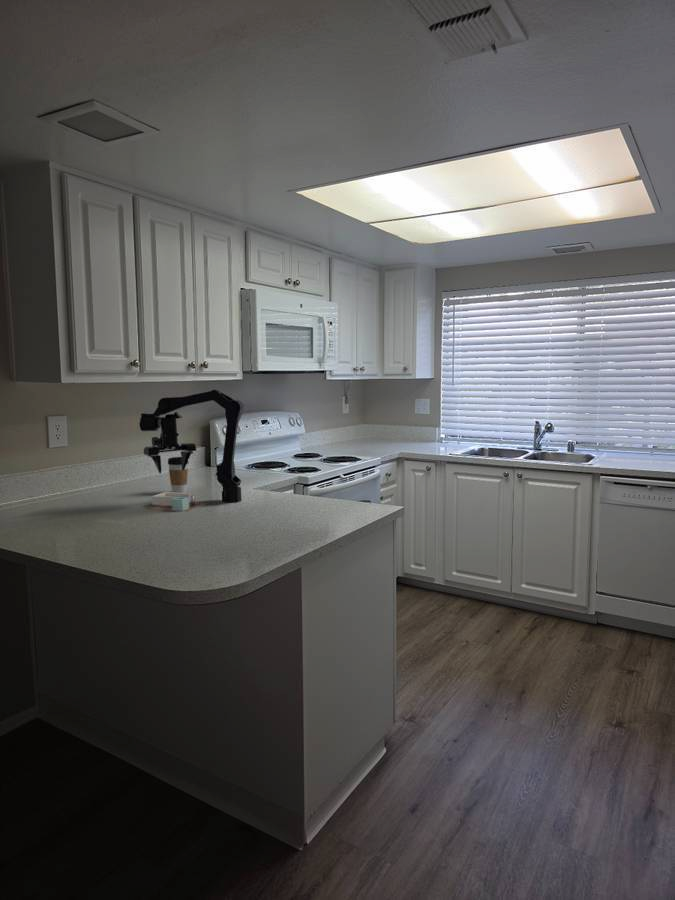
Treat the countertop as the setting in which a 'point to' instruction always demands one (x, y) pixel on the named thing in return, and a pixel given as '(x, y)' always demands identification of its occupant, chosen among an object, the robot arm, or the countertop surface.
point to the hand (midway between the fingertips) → (171, 471)
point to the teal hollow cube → (180, 503)
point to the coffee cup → (178, 475)
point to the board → (163, 507)
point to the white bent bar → (167, 498)
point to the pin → (192, 500)
